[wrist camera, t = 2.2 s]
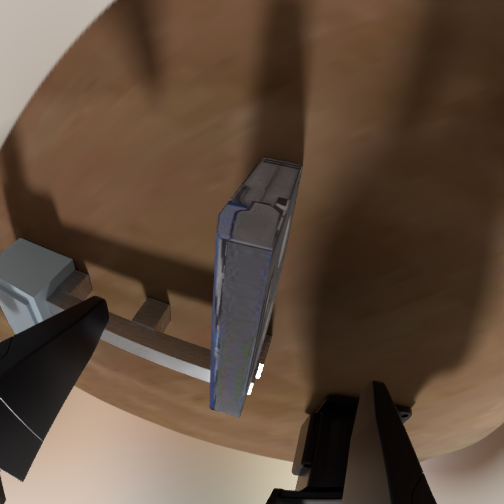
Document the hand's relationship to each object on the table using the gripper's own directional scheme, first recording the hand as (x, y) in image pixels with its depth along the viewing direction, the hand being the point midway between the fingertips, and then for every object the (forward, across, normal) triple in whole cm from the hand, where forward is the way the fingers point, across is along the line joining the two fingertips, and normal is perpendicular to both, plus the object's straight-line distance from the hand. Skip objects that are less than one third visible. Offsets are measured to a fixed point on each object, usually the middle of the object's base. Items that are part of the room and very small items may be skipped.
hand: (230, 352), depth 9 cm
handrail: (+6, +6, +6) cm, 10 cm away
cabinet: (+6, +15, +8) cm, 18 cm away
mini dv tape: (+6, 0, 0) cm, 6 cm away
